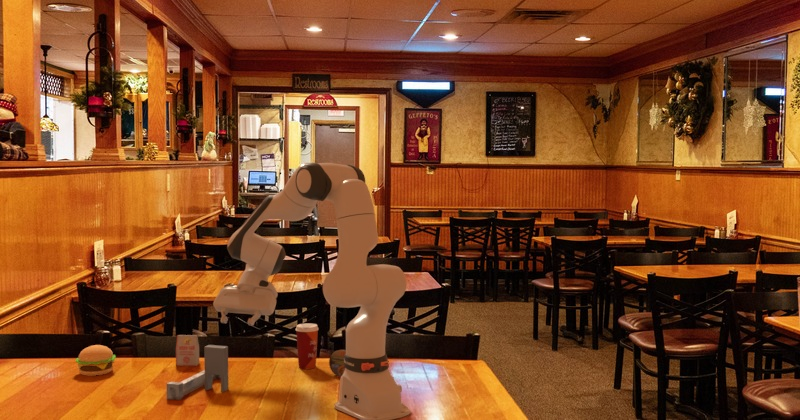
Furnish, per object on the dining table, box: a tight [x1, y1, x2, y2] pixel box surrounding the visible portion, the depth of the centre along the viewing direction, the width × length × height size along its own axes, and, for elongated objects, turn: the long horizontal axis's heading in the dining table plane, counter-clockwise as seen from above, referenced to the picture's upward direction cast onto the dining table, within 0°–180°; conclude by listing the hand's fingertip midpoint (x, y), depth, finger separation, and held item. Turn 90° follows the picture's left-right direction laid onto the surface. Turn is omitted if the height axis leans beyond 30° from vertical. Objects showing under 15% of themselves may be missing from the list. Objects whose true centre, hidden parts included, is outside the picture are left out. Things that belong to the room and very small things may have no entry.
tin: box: [328, 349, 346, 378], centre depth 235 cm, size 15×3×8 cm, turn 62°
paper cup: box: [294, 322, 319, 370], centre depth 246 cm, size 8×8×14 cm
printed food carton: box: [175, 334, 200, 367], centre depth 249 cm, size 4×7×10 cm, turn 88°
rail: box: [166, 369, 221, 401], centre depth 223 cm, size 24×4×4 cm, turn 163°
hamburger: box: [75, 344, 117, 377], centre depth 239 cm, size 12×12×9 cm
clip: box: [203, 344, 229, 393], centre depth 221 cm, size 6×3×13 cm, turn 73°
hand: (236, 323), depth 232 cm, fingers open, 8 cm apart
